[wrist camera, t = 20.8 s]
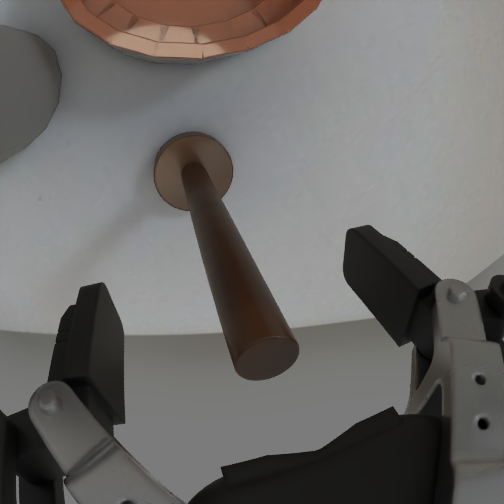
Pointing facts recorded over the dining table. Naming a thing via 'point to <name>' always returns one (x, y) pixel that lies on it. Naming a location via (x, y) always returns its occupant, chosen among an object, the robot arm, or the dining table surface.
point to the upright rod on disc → (225, 255)
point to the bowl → (188, 25)
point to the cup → (25, 88)
